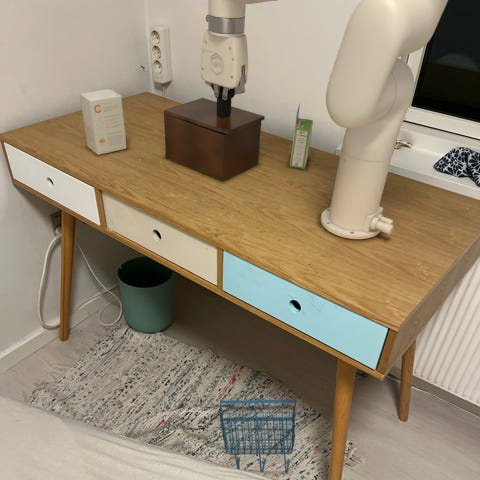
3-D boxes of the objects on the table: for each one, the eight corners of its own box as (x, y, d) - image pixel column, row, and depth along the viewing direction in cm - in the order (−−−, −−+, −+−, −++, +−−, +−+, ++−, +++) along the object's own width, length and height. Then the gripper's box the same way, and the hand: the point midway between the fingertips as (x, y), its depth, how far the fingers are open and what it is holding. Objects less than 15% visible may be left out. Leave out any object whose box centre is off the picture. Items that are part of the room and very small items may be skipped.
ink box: (305, 169, 124) (313, 114, 116) (289, 167, 125) (296, 112, 116) (307, 158, 130) (315, 104, 121) (292, 156, 130) (299, 102, 121)
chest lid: (264, 119, 118) (264, 116, 117) (227, 134, 109) (227, 130, 109) (202, 100, 126) (202, 97, 126) (163, 113, 118) (163, 109, 118)
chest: (258, 164, 125) (261, 120, 118) (222, 181, 117) (224, 135, 110) (202, 143, 134) (202, 101, 126) (165, 158, 125) (163, 113, 118)
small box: (115, 140, 132) (110, 88, 123) (127, 149, 128) (122, 95, 120) (86, 146, 128) (78, 92, 119) (97, 155, 124) (90, 100, 116)
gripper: (187, 21, 105) (188, 111, 117) (243, 34, 98) (238, 128, 110) (211, 17, 110) (209, 104, 122) (266, 29, 103) (259, 120, 115)
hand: (223, 115), depth 116 cm, fingers closed
